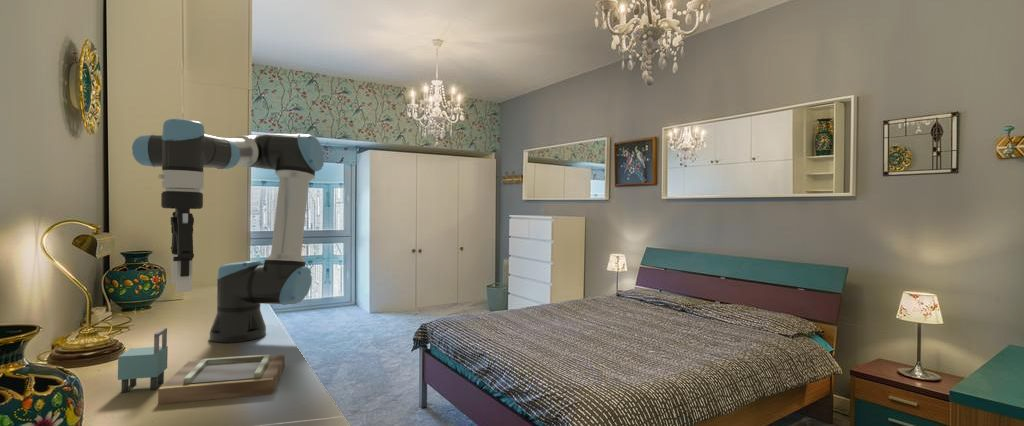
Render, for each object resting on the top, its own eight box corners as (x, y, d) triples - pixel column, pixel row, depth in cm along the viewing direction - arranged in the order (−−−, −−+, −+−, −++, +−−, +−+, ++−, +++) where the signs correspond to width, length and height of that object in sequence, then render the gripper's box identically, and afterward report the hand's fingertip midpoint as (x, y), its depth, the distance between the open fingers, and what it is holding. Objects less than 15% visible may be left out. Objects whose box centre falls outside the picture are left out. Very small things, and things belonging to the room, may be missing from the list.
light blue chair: (130, 383, 106) (131, 329, 106) (167, 380, 108) (168, 327, 108) (117, 393, 100) (118, 336, 100) (156, 390, 102) (157, 334, 102)
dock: (188, 373, 113) (188, 356, 113) (284, 366, 119) (284, 350, 119) (158, 404, 96) (158, 383, 96) (272, 393, 102) (272, 374, 102)
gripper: (158, 190, 111) (157, 280, 111) (165, 189, 92) (163, 298, 92) (196, 191, 116) (195, 278, 116) (210, 190, 96) (208, 294, 97)
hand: (181, 287), depth 104 cm, fingers open, 13 cm apart
